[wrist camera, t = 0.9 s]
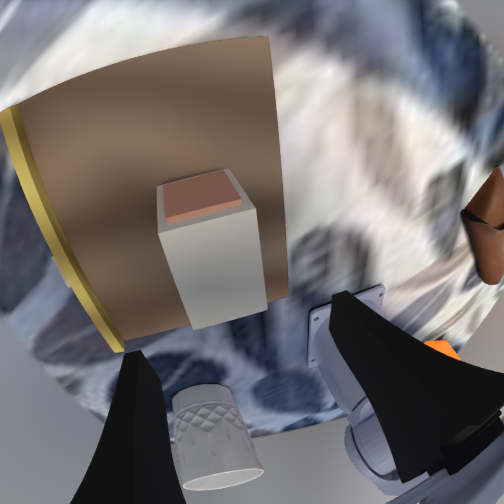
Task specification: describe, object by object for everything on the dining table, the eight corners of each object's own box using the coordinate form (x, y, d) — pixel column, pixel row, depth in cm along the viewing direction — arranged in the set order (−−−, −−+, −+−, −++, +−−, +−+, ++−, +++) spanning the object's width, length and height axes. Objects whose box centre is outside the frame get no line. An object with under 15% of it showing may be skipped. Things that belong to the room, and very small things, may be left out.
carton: (182, 271, 19) (193, 330, 15) (155, 181, 15) (156, 228, 11) (242, 255, 20) (267, 309, 16) (227, 164, 16) (255, 202, 12)
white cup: (159, 412, 30) (174, 492, 22) (175, 377, 26) (195, 474, 19) (222, 413, 33) (244, 485, 26) (248, 380, 30) (278, 464, 22)
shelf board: (286, 291, 24) (293, 305, 22) (112, 337, 21) (111, 353, 20) (264, 36, 13) (275, 34, 11) (6, 110, 10) (-7, 115, 9)
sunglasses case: (510, 237, 33) (522, 276, 29) (473, 252, 37) (483, 291, 34) (498, 159, 23) (523, 207, 19) (448, 182, 27) (466, 232, 24)
